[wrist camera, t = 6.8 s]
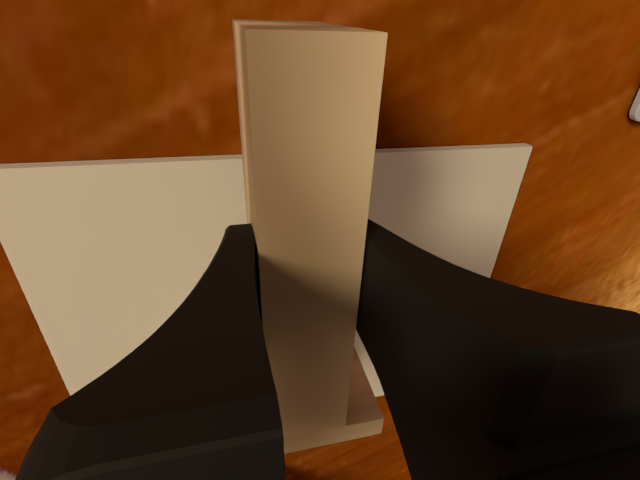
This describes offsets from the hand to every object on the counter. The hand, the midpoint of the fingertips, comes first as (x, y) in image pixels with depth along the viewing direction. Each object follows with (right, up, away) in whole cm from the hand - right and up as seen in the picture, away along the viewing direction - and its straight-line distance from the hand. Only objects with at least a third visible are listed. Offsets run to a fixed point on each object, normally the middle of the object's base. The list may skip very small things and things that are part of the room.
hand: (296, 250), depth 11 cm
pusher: (-1, +1, +2) cm, 3 cm away
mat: (-1, -3, +9) cm, 9 cm away
